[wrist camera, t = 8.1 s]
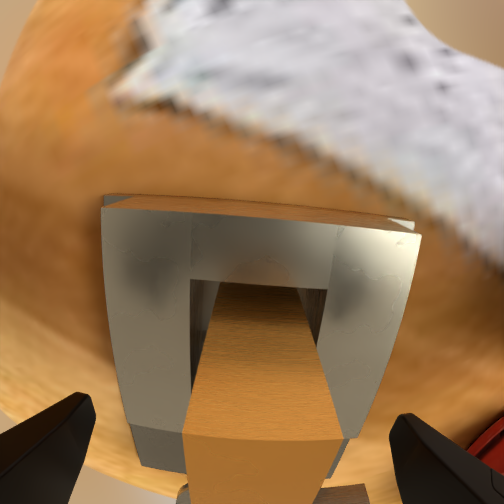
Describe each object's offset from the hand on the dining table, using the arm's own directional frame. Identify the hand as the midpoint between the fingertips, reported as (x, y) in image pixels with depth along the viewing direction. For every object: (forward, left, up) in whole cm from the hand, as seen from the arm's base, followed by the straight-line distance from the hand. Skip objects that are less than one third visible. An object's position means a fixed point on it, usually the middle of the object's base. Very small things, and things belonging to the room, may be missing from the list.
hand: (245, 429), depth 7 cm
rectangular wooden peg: (0, 0, -7) cm, 7 cm away
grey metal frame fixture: (0, +5, -8) cm, 9 cm away
